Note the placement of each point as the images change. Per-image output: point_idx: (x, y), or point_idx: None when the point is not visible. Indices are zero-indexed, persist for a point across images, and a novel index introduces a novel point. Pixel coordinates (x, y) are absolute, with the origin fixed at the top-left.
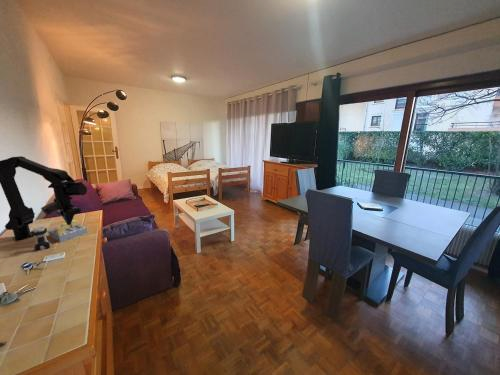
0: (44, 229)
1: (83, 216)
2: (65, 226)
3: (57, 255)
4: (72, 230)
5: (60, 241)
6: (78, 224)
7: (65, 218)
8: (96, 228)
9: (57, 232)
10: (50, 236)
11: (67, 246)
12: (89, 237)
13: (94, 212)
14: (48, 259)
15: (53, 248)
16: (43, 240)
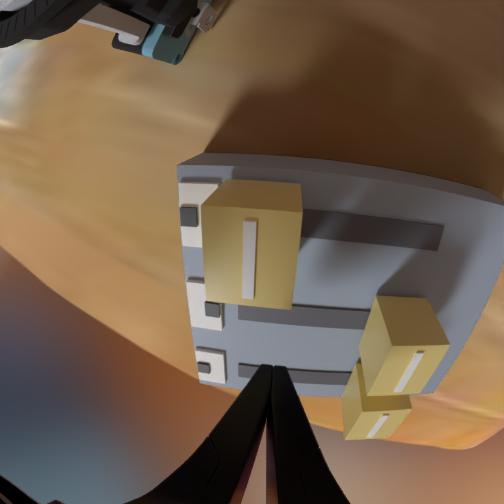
0: (46, 2)
1: (500, 412)
2: (375, 339)
3: (7, 88)
4: (251, 321)
5: (200, 155)
6: (342, 401)
7: (187, 466)
8: None
9: (235, 189)
10: (459, 183)
11: (65, 157)
12: (113, 305)
13: (480, 439)
14: (5, 50)
15: (109, 76)
16: (108, 6)
